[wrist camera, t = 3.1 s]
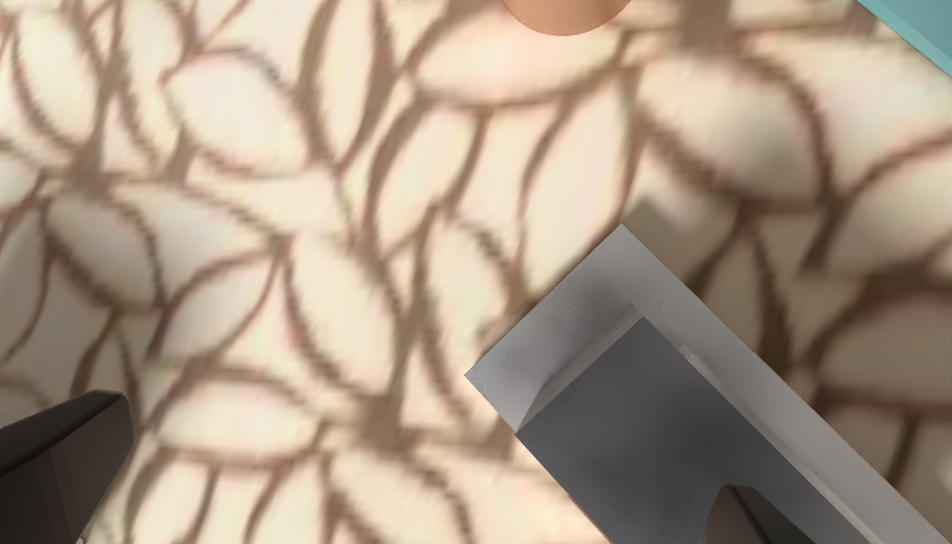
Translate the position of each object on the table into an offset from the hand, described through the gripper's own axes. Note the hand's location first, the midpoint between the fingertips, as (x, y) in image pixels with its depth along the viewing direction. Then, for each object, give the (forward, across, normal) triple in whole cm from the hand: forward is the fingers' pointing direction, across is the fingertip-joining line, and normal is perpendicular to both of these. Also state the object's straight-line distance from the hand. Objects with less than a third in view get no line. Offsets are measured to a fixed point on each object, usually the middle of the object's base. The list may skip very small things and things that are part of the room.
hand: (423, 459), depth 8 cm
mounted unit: (+8, -8, +6) cm, 13 cm away
